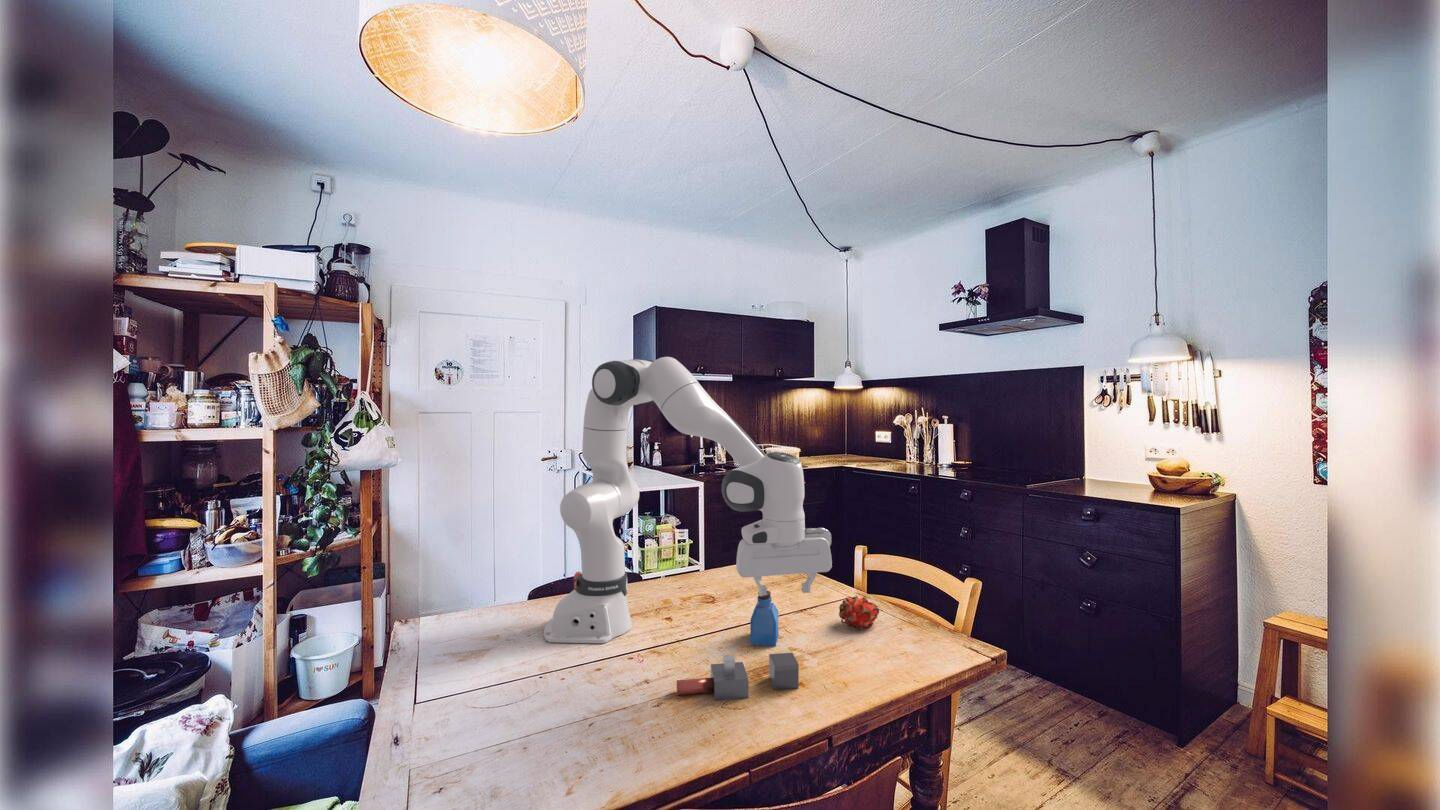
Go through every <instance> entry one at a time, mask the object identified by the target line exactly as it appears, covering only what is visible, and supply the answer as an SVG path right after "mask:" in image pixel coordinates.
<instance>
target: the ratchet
mask: <svg viewBox="0 0 1440 810" xmlns="http://www.w3.org/2000/svg"><path fill="white" fill-rule="evenodd" d="M735 659H736V658H735V656H734V654H727V655H726V654H725V655H722V663H714V664H713V663H712V664H710V676H709V677H697V678H687V679H677V680H676V695H677V696H679V695H680V696H681V695H695V694H705V693H712V694H713V698H714V699H713V700H714V701H726V700H737V699H749V676H748V674H747V671H746V667H745V665H744V662H743V661H736V660H735Z"/></svg>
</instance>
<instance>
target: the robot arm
mask: <svg viewBox="0 0 1440 810" xmlns="http://www.w3.org/2000/svg"><path fill="white" fill-rule="evenodd" d="M591 387H592V388H591V389H590V390H589V393H588V395H587V399H586V403H585V407H584V408H585V409H584V416H583V427H582V428H583V429H582V432H583V433H582V450H581V453H582V454H581V455H582V457H583V459H584V461H585V462H586V463H588V464H589V465H590V468H591V472H592V481H591V482H588V483H584V484H581V485H578V486H577V487H575V488H574V489H572V490H570V491H568V492H567V494H565V495H564V496H563V497H562V499H561V502H560V505H559V512H560V517H561V519H562V521H563V522H564V524H565V525H566V526H567V527H569V528H570V529H571V530H573V531H574V533H575V535H576V538H577V540H578V544H579V548H580V558H581V571H576V572H575V573H574V575H573V588H574V589H573V590H572V591H570V593H568V594H567V595H565V596H564V597H563V598H562V599H560V601H558V603H557V604H556V606H555V608H554V611H553V615H552V618H550V619H549V620H548V621H547V622H546V624H545V626H544V629H543V638H545V639H544V640H545V641H546V640H547V641H548V643H563V644H564V643H566V644H567V643H568V644H571V643H572V644H606V643H608V642H609V641H610V640H612V639H614V638H616V637H618V636H621V635H624V634H625V633H627V632H628V631H630V630H631V628H632V627H633V621H632V618H631V614H630V610H629V605H628V598H627V597H628V596H627V594H628V587H629V586H628V574H627V571H626V563H625V561H626V560H625V558H626V556H625V555H626V554H625V543H624V542H623V540H622V539H621V538H619V537H618V536H617V535H616V534H615V530H614V525H613V522H614V520H615V519H617V518H620V517H622V516H624V515H626V514H627V513H629V512H630V511H631V510H632V509H633V508H634V507H635V506H636V505H637V504H638V503H639V500H640V488H639V486H638V484H637V483H636V481H635V480H634V479H633V478H632V476H631V472H630V470H629V464H628V458H627V457H628V456H627V449H628V448H627V443H628V442H627V441H628V420H629V419H628V416H629V412H630V409H631V408H632V407H633V406H636V405H639V406H642V405H645V404H651V403H654V404H655V405H656V406H657V407H658V409H659V411H660V413H662V414H663V416H664V418H665V419H666V420H667V421H668V423H669V424H670V425H671V426H672V427H673V428H674V429H676V430H677V431H678V432H679V433H682V434H684V435H688V436H694V437H698V438H699V437H700V438H704V439H708V440H710V441H713V442H715V443H718V445H720V446H721V447H722V448H724V450H725V451H726V452H728V454H729V455H730V456H731V458H733V460H734V461H735V462H736V463H737V464H738V465H739V467H736V468H734V469H732V470H730V471H728V472H727V473H726V474H725V475H724V477H723V478H722V483H721V495H722V498H723V500H724V502H725V503H726V505H727V506H728V507H730V509H732V510H733V511H737V512H753V511H761V513H762V519H760V520H757V521H754V522H752V523H749V524H747V525H744V526H743V527H741V536H742V539H741V540H740V541H739V543H738V545H737V550H736V551H737V552H736V564H735V565H736V571H737V573H738V575H739V576H740V577H741V578H753V579H752V580H754V582H755V584H756V585H757V587H758V592H759V594H758V596H767V593H766V592H767V591H768V588H767V586H766V585H763V584H761V582H762V579H763V577H771V576H783V575H785V576H786V575H799V574H801V575H802V574H806V575H807V578H806V580H805V581H804V582H801V591H802V593H803V594H809V593H811V585H812V584H813V583H814V581H815V579H816V573H827V572H830V570H831V569H832V567H833V565H832V564H833V560H832V553H831V548H830V547H831V545H832V533H831V532H830V531H829V530H828V529H826V528H824V527H817V528H816V527H814V528H813V527H809V528H807V527H806V523H805V522H806V521H805V519H806V516H805V511H804V507H803V505H804V500H805V494H806V493H805V479H804V478H805V476H804V468H803V466H802V463H801V460H800V459H799V458H798V457H797V456H795V455H793V454H790V453H786V452H779V451H773V452H768V453H765V451H763V449H761V447H760V446H759V445H757V444H756V442H755V441H754V440H753V439H752V438H751V437H750V436H749V434H748V433H747V432H746V431H745V430H744V429H743V428H742V426H740V425H739V424H738V422H737V421H736V420H735V419H734V418H732V417H731V416H730V415H729V414H728V413H727V412H726V411H725V410H724V409H723V408H722V407H720V406H719V404H718V403H716V401H715V400H714V399H713V398H712V397H711V395H709V394H708V392H707V391H706V390H705V389H704V388H703V386H702V385H701V384H700V382H699V381H698V380H697V378H696V377H694V375H693V373H691V371H690V370H688V369H687V367H685V365H683V364H682V363H681V361H679V360H677V359H676V358H674V357H671V356H663V357H662V356H661V357H659V358H657V359H655V360H652V359H651V360H650V359H649V360H645V359H634V358H633V359H632V358H631V359H625V360H610V361H607V362H604V363H602V364H599V366H598V367H596V368H595V370H594V372H593V375H592V378H591ZM547 641H546V642H547Z"/></svg>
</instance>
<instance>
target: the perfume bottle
mask: <svg viewBox="0 0 1440 810" xmlns="http://www.w3.org/2000/svg"><path fill="white" fill-rule="evenodd" d="M766 593H767V596H759V591H757V594H758V596H757V601H756V605H755V607H754V609H753V612H752V614H751V617H750V621H749V622H750V623H749V624H750V627H749V628H750V645H754V646H755V645H756V646H763V647H764V646H765V647H775V646H776V647H777V644H776V643H778V638H779V610H778V608H777V606H776V604H774V602H772V596H771V594H772V592H771V591H769V590H767V592H766ZM766 645H767V646H766Z"/></svg>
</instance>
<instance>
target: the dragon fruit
mask: <svg viewBox="0 0 1440 810" xmlns="http://www.w3.org/2000/svg"><path fill="white" fill-rule="evenodd" d="M841 602H842V603H840V605H839V609H838V610H839V612H838V616H839V618H840V619H841V621H840V622H841V623H842V624H843V625H848V626H849V628H853V627H856V628H857V629H859V630H863V629H864V627H866V628H871V627H872V626H873V625H874V622H875V621H876V619H877V618H878V616H879V614H880V608H878V606H877V605H876V603H874V602H873V601H872V602H871V601H869V600H868V599H867V596H862V598H859V596H857V595H856V596H853V597H852V598H850V597H845V599H843V600H842V601H841Z"/></svg>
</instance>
